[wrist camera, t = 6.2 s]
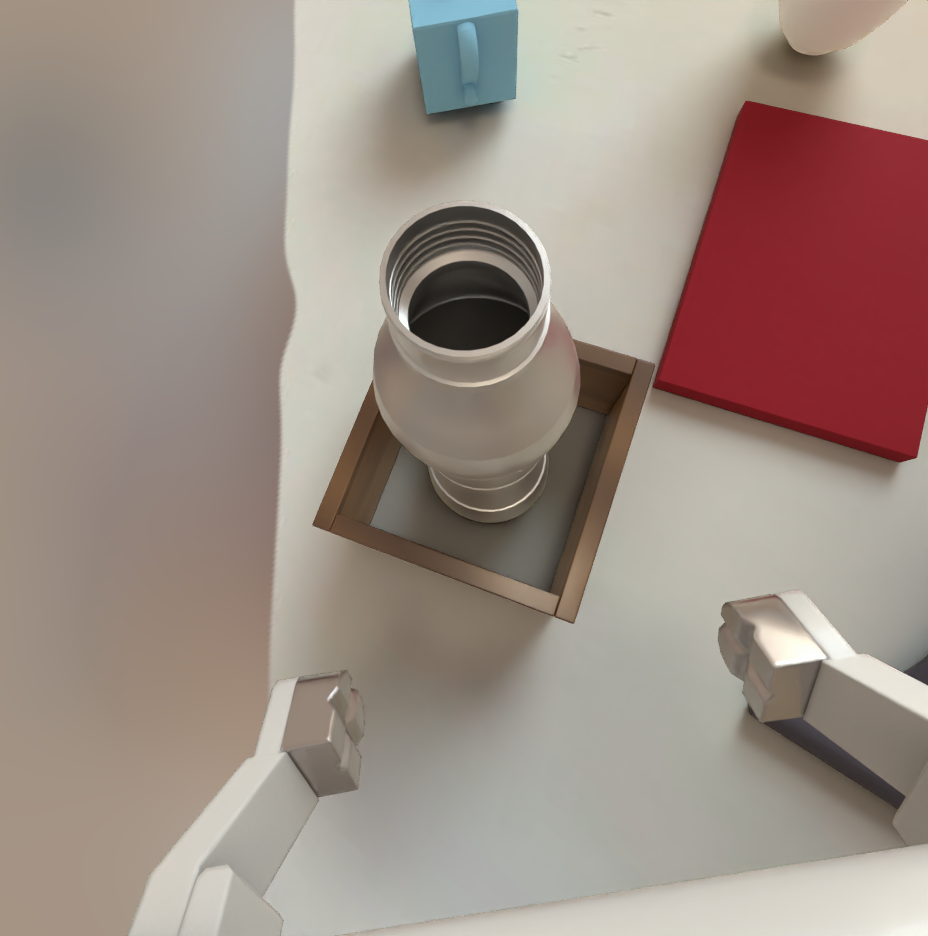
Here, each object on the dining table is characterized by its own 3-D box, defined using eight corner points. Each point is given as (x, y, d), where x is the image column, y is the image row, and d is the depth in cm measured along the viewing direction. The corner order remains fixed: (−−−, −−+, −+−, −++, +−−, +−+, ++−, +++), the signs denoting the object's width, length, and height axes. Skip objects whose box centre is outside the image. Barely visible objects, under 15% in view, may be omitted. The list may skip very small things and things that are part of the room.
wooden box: (427, 345, 32) (409, 289, 26) (624, 407, 30) (656, 363, 24) (351, 535, 30) (311, 525, 24) (558, 613, 28) (574, 624, 22)
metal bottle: (480, 550, 29) (436, 500, 10) (411, 459, 31) (251, 254, 11) (568, 482, 30) (698, 301, 10) (496, 395, 31) (488, 89, 11)
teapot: (412, 8, 38) (390, -129, 30) (493, -7, 37) (491, -149, 30) (431, 144, 35) (411, 30, 28) (518, 129, 35) (523, 9, 27)
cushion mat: (737, 116, 34) (745, 99, 33) (964, 167, 32) (981, 151, 31) (652, 387, 30) (658, 379, 29) (900, 462, 28) (917, 458, 27)
